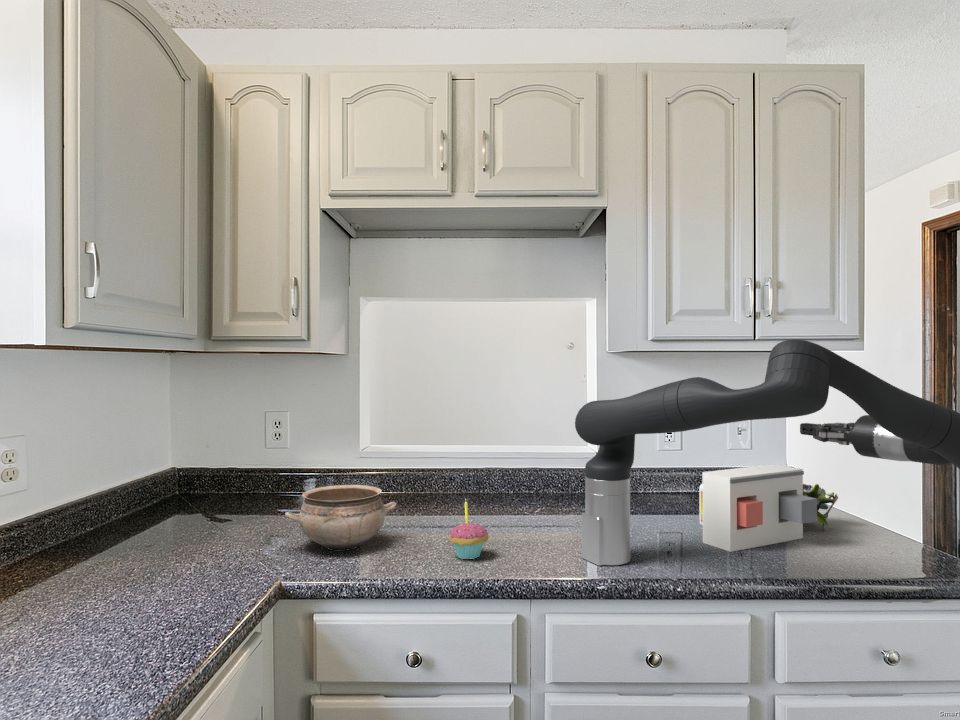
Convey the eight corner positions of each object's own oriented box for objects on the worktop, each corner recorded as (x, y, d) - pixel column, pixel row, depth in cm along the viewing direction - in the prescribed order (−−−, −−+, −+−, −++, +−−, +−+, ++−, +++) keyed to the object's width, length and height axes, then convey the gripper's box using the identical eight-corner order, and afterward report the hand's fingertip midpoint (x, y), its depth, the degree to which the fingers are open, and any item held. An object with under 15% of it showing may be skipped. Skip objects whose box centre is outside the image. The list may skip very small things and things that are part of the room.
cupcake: (443, 553, 143) (443, 498, 143) (480, 549, 146) (480, 494, 146) (456, 565, 135) (456, 506, 135) (495, 560, 138) (494, 502, 138)
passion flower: (802, 546, 167) (821, 500, 171) (839, 551, 156) (858, 501, 160) (763, 520, 166) (783, 473, 170) (797, 522, 154) (818, 473, 158)
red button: (746, 527, 142) (746, 504, 142) (724, 521, 147) (724, 498, 147) (762, 524, 144) (762, 501, 144) (740, 518, 150) (740, 496, 149)
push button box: (731, 552, 142) (731, 478, 142) (702, 542, 150) (702, 472, 150) (804, 538, 153) (803, 469, 153) (773, 530, 160) (773, 464, 160)
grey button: (801, 523, 145) (801, 500, 145) (778, 517, 150) (778, 495, 150) (816, 521, 147) (816, 498, 147) (793, 515, 152) (793, 493, 152)
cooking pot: (385, 530, 162) (385, 480, 162) (408, 550, 145) (408, 495, 145) (280, 542, 153) (279, 489, 152) (291, 565, 135) (290, 506, 135)
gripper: (864, 462, 114) (779, 449, 129) (911, 456, 120) (824, 445, 135) (865, 418, 114) (779, 411, 129) (911, 415, 120) (824, 408, 135)
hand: (802, 428), depth 132 cm, fingers closed
